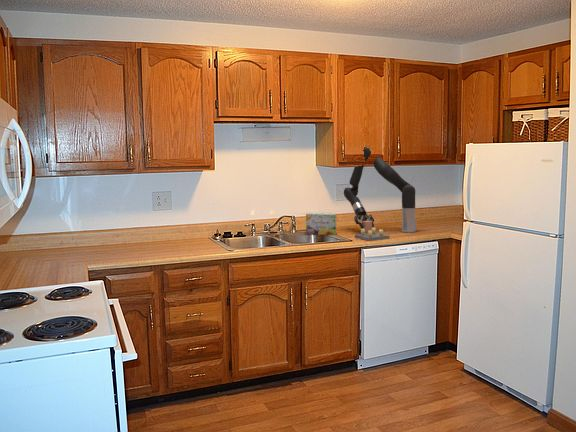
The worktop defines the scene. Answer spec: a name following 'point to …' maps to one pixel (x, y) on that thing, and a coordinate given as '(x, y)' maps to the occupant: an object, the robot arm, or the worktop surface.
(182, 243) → the worktop surface
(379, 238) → the chassis plate
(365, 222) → the terracotta block
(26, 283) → the worktop surface
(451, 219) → the worktop surface
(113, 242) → the worktop surface
